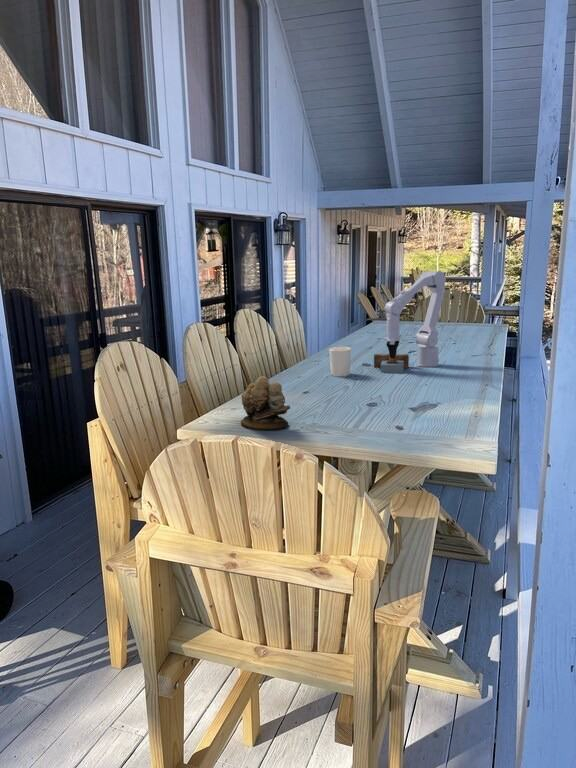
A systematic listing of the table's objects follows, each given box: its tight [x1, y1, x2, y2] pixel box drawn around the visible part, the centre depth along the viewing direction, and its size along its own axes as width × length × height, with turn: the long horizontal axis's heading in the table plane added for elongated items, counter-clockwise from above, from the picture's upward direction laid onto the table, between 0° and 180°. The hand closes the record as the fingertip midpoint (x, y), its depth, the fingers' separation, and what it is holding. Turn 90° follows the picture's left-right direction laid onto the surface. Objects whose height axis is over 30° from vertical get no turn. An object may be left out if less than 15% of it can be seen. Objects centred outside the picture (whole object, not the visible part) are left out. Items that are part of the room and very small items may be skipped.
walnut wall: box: [373, 353, 410, 369], centre depth 259 cm, size 16×3×6 cm, turn 77°
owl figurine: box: [240, 375, 291, 432], centre depth 180 cm, size 18×12×17 cm, turn 65°
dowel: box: [389, 349, 398, 364], centre depth 251 cm, size 3×3×8 cm
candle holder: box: [328, 346, 352, 377], centre depth 247 cm, size 10×10×12 cm
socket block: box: [380, 360, 405, 374], centre depth 253 cm, size 10×10×4 cm
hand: (392, 357), depth 251 cm, fingers closed on dowel, 3 cm apart
